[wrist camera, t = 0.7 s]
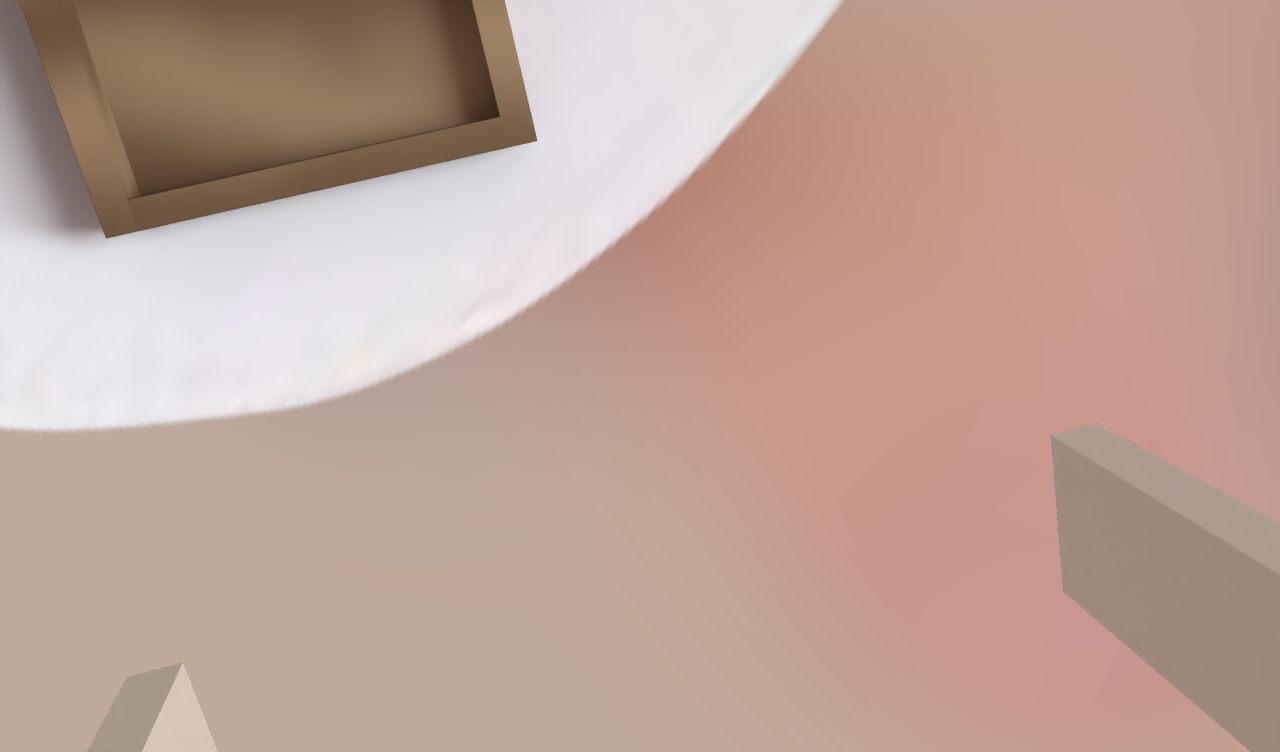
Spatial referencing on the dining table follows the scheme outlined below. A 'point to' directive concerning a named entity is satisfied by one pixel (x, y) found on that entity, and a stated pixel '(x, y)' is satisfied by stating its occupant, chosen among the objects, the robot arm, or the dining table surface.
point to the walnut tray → (271, 96)
